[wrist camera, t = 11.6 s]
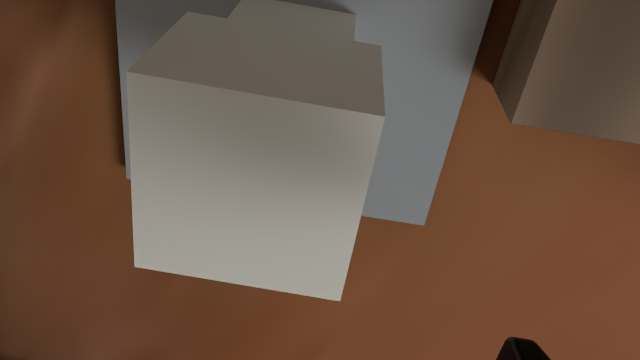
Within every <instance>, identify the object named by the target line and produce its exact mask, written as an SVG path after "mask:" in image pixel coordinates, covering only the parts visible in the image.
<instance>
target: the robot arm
mask: <svg viewBox="0 0 640 360" xmlns="http://www.w3.org/2000/svg"><path fill="white" fill-rule="evenodd" d="M496 360H551V359H550V358H549V357H548V356H547V355H546V354H545V352H544V351H543V350H542V349H541V348H540V347H539V346H538V344H537V343H535V342H534V341H532V340H529V339H523V338H517V337H509V338H508V339H506V341H505V342H504V344H503V346H502V348H501V350H500V353H499V355H498V357H497V359H496Z"/></svg>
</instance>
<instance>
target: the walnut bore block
mask: <svg viewBox="0 0 640 360" xmlns="http://www.w3.org/2000/svg"><path fill="white" fill-rule="evenodd" d="M492 86H493V88H494V90H495V92H496V94H497V96H498V98H499V100H500V102H501V104H502V106H503V108H504V110H505V112H506V114H507V116H508V118H509V120H510V122H511V124H517V125H523V126H529V127H536V128H542V129H548V130H554V131H561V132H567V133H573V134H579V135H585V136H592V137H598V138H604V139H610V140H617V141H623V142H629V143H635V144H640V0H521V1H520V4H519V7H518V9H517V12H516V15H515V18H514V21H513V24H512V27H511V30H510V33H509V36H508V39H507V42H506V45H505V48H504V51H503V54H502V57H501V60H500V63H499V66H498V69H497V72H496V75H495V78H494V81H493V84H492Z"/></svg>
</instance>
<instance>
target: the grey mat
mask: <svg viewBox="0 0 640 360" xmlns="http://www.w3.org/2000/svg"><path fill="white" fill-rule="evenodd" d="M240 1H241V0H115V9H116V24H117V39H118V55H119V70H120V85H121V101H122V116H123V131H124V147H125V162H126V177H127V179H131V169H130V145H129V122H128V98H127V74H126V72H127V71H128V70H129V69H130V68H131V67H132V66H133V65H134V64H135V63H136V62H137V61H138V60H139V59H140V58H141V57H142V56H143V55H144V54H145V53H146V52H147V51H148V50H149V49H150V48H151V47H152V46H153V45H154V44H155V43H156V42H157V41H158V40H159V39H160V38H161V37H162V36H163V35H164V34H165V33H166V32H167V31H168V30H169V29H170V28H171V27H172V26H173V25H174V24H175V23H176V22H177V21H179V20H180V19H181V18H182V17H183V16H184V15H185V14H186V13H187V12H194V13H200V14H205V15H211V16H217V17H222V18H228V17H229V15H230V14H231V13H232V11H233V10H234V9H235V7H236V6H237V5H238V4H239V2H240ZM277 1H283V2H289V3H294V4H300V5H305V6H311V7H317V8H322V9H328V10H334V11H339V12H345V13H350V14H356V21H355V36H354V41H358V42H363V43H369V44H374V45H380V46H381V53H382V70H383V86H384V103H385V120H384V124H383V128H382V133H381V137H380V141H379V145H378V149H377V153H376V157H375V161H374V165H373V169H372V173H371V177H370V181H369V186H368V190H367V194H366V198H365V202H364V206H363V210H362V214H361V216H366V217H373V218H379V219H385V220H392V221H398V222H404V223H411V224H417V225H423V226H424V224H425V221H426V218H427V214H428V211H429V208H430V205H431V201H432V198H433V195H434V192H435V188H436V185H437V182H438V179H439V175H440V172H441V169H442V166H443V162H444V159H445V156H446V153H447V149H448V146H449V143H450V140H451V136H452V133H453V130H454V127H455V123H456V120H457V117H458V114H459V111H460V107H461V104H462V101H463V98H464V94H465V91H466V88H467V85H468V81H469V78H470V75H471V72H472V68H473V65H474V62H475V59H476V55H477V52H478V49H479V46H480V42H481V39H482V36H483V33H484V29H485V26H486V23H487V20H488V16H489V13H490V10H491V7H492V3H493V0H277Z"/></svg>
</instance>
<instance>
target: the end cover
mask: <svg viewBox="0 0 640 360" xmlns="http://www.w3.org/2000/svg"><path fill="white" fill-rule="evenodd" d="M355 21H356V14H350V13H345V12H339V11H334V10H328V9H322V8H317V7H311V6H305V5H300V4H294V3H289V2H283V1H277V0H241V1H240V2H239V4H238V5H237V6H236V7H235V9H234V10H233V11H232V13H231V14H230V15H229V17H228V18H222V17H217V16H211V15H205V14H200V13H194V12H187V13H186V14H185V15H184V16H183V17H182V18H181V19H180V20H179V21H177V22H176V23H175V24H174V25H173V26H172V27H171V28H170V29H169V30H168V31H167V32H166V33H165V34H164V35H163V36H162V37H161V38H160V39H159V40H158V41H157V42H156V43H155V44H154V45H153V46H152V47H151V48H150V49H149V50H148V51H147V52H146V53H145V54H144V55H143V56H142V57H141V58H140V59H139V60H138V61H137V62H136V63H135V64H134V65H133V66H132V67H131V68H130V69H129V70H128V71H127V72H126V74H127V98H128V122H129V145H130V169H131V193H132V217H133V241H134V264H135V267H138V268H144V269H150V270H156V271H162V272H168V273H174V274H180V275H186V276H192V277H198V278H204V279H210V280H216V281H222V282H228V283H234V284H240V285H246V286H252V287H258V288H264V289H270V290H276V291H282V292H288V293H294V294H300V295H306V296H312V297H318V298H324V299H330V300H336V301H340V300H341V296H342V292H343V288H344V283H345V279H346V275H347V271H348V267H349V263H350V259H351V255H352V251H353V247H354V243H355V239H356V235H357V230H358V226H359V222H360V218H361V214H362V210H363V206H364V202H365V198H366V194H367V190H368V186H369V181H370V177H371V173H372V169H373V165H374V161H375V157H376V153H377V149H378V145H379V141H380V137H381V133H382V128H383V124H384V120H385V103H384V86H383V70H382V53H381V46H380V45H374V44H369V43H363V42H358V41H354V36H355Z"/></svg>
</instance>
